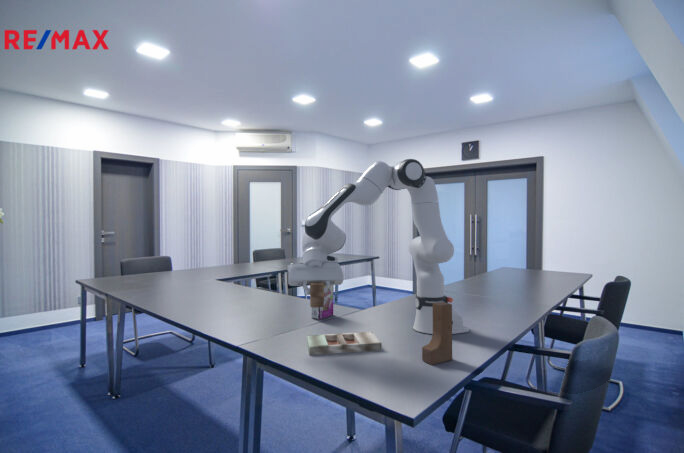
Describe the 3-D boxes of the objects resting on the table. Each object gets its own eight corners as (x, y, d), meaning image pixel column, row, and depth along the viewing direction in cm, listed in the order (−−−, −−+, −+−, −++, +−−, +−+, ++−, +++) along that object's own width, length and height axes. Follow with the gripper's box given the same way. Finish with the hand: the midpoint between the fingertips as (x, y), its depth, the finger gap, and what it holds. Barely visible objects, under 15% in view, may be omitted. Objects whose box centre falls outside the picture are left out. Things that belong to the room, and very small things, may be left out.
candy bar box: (319, 320, 158) (319, 284, 158) (311, 318, 161) (311, 283, 161) (334, 315, 167) (334, 281, 167) (326, 313, 170) (326, 280, 170)
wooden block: (431, 365, 106) (431, 307, 106) (421, 360, 110) (421, 304, 110) (452, 360, 110) (452, 304, 110) (442, 355, 114) (442, 301, 114)
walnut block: (322, 304, 125) (322, 282, 125) (323, 307, 120) (323, 284, 120) (309, 304, 124) (310, 282, 124) (310, 307, 119) (311, 284, 119)
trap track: (372, 338, 132) (371, 331, 132) (381, 350, 119) (381, 342, 119) (306, 342, 128) (306, 335, 128) (309, 355, 115) (309, 347, 115)
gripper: (287, 258, 127) (287, 289, 117) (341, 257, 130) (346, 287, 121) (287, 268, 131) (287, 299, 122) (339, 267, 135) (343, 297, 125)
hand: (317, 293), depth 121 cm, fingers closed on walnut block, 4 cm apart
